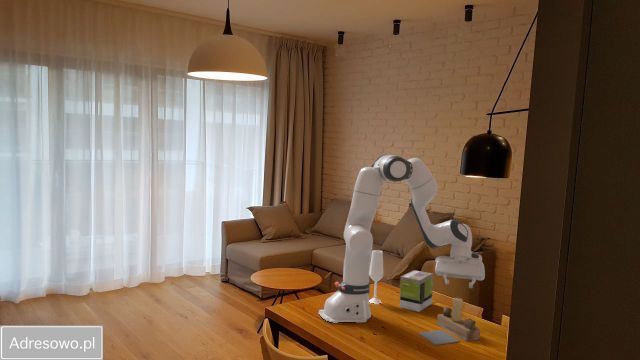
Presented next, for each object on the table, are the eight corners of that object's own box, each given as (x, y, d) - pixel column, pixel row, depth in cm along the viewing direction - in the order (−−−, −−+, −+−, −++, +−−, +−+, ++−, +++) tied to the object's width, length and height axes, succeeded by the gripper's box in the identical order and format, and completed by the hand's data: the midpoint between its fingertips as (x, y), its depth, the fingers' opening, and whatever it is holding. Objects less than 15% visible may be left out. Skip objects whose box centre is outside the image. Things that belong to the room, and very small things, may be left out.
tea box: (412, 299, 221) (414, 269, 221) (432, 304, 216) (434, 273, 215) (398, 307, 209) (400, 275, 208) (419, 312, 203) (421, 279, 203)
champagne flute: (364, 300, 217) (367, 250, 216) (376, 298, 220) (378, 249, 219) (373, 305, 211) (375, 253, 210) (385, 303, 215) (387, 252, 213)
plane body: (465, 341, 174) (466, 323, 173) (436, 323, 191) (437, 307, 190) (479, 339, 176) (480, 321, 176) (450, 322, 193) (450, 305, 193)
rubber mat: (435, 345, 169) (435, 344, 169) (418, 333, 179) (418, 332, 179) (459, 341, 173) (459, 340, 173) (441, 330, 183) (441, 329, 183)
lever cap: (461, 322, 182) (462, 301, 181) (451, 321, 183) (452, 300, 182) (461, 319, 185) (462, 298, 185) (451, 318, 186) (453, 297, 186)
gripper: (435, 251, 201) (432, 278, 192) (485, 256, 195) (484, 285, 186) (436, 259, 206) (433, 286, 197) (484, 264, 199) (483, 292, 190)
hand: (458, 285), depth 191 cm, fingers open, 8 cm apart
